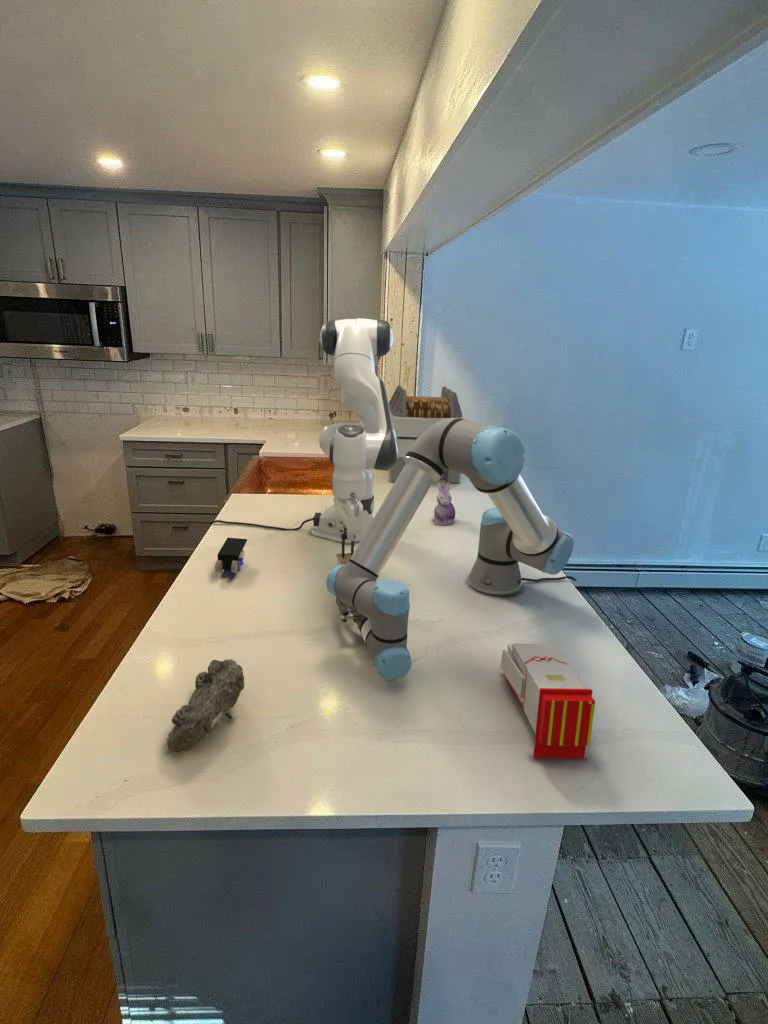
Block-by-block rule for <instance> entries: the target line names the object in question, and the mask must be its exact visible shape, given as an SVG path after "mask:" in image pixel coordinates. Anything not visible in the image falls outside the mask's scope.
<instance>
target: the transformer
mask: <svg viewBox="0 0 768 1024" xmlns="http://www.w3.org/2000/svg"><path fill="white" fill-rule="evenodd" d="M440 393H441V394H440V396H415V395H414V396H413V395H412V396H411V395H407V394H408V393H407V390H406V389H404V388H403V387H402V385H399V384H398V385H397V386H396V388H395V390H394V392H393V394H392V395H391V398H390V400H388V403H389V409H390V415H391V421H392V427H393V429H394V431H395V433H396V443H397V447H398V458H397V462H396V464H395V465H393V466H392V467H391V468H390V469H389V475H388V476H389V477H388V478H389V480H390V482H391V483H395V481H396V479H397V478H398V476H399V474H400V473H401V471H402V469H403V467H404V466H405V462H404V457H405V455H406V454H407V452H408V450H409V449H410V447H411V446H412V444H413V443H414V442H415V441H416V439H417V438H418V437H419V436H420V435H421V434H422V433H423V432H424V431H426V430H427V429H428V428H429V427H430V426H432V425H433V424H435V423H437V422H439V421H441V420H444V419H447V418H461V419H463V411H462V408H461V405H460V402H459V398H458V395H457V392H455V391H453V390H452V389H451V388H447V386H442V387H441V392H440ZM461 474H462V473H459V472H456V471H452V470H449V469H448V470H446V471H445V472H444V473H443V475H442V476H443V478H444V479H445V481H446V482H447V483H448V482H449V483H450V484H455V483H456V484H459V483H461Z"/></svg>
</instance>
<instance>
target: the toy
mask: <svg viewBox="0 0 768 1024" xmlns="http://www.w3.org/2000/svg"><path fill="white" fill-rule="evenodd" d="M499 667H500V670H501V671H502V673H503V676H504V677H505V680H506V681H507V683H508V685H509V686H510V689H511V690H512V691H513V694H514V695H515V697H516V698H517V701H518V702H519V704H520V706H521V708H523V711H524V713H525V715H526V719H528V723H530V726H531V728H532V730H533V732H534V734H535V735H534V744H533V759H566V760H567V759H571V760H572V759H574V760H575V759H577V760H578V759H580V760H584V759H585V755H586V748H587V747H590V746H591V739H592V733H593V731H592V730H593V723H594V716H595V706H596V700H595V699H594V697H593V689H592V688H586V686H585V685H584V684H583V682H582V681H581V680H580V678H579V677H578V676H577V674H576V673H575V672H574V670H573V669H572V667H571V666H570V665H569V663H568V662H567V660H566V659H565V658H564V656H563V655H562V654H561V652H560V650H559V649H558V648H556V645H554V643H519V642H518V643H514V642H512V644H507V650H506V649H502V652H501V660H500V666H499Z"/></svg>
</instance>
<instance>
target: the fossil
mask: <svg viewBox="0 0 768 1024" xmlns="http://www.w3.org/2000/svg"><path fill="white" fill-rule="evenodd" d="M243 670H244V669H243V667H242V665H240V664H237V662H236V661H235V660H234V659H232V658H231V659H227V658H226V659H224V660H223V661H222V660H217V659H212V660H211V661H210V663H209V665H208V666H207V671H201V672H199V673H198V674H197V675H196V676H195V680H194V684H195V685H194V687H195V689H194V690H193V693H192V694H191V697H190V698H189V700H188V704H184V705H182V706H181V707H180V709H177V710H176V711H175V713H174V715H173V716H172V718H171V723H172V724H173V727H172V730H171V731H170V732H168V734H167V738H166V741H167V742H166V745H167V749H168V750H169V751H173V752H174V753H176V754H178V753H182V752H188V751H189V752H192V751H193V750H195V748H196V747H197V746H199V744H200V743H201V742H203V741H204V740H205V739H206V738H207V737H208V736H209V735H210V734H211V733H212V732H214V730H215V729H217V727H218V726H219V724H220V722H221V721H222V720H223V719H224V718H225V716H226V717H227V719H229V720H233V717H232V715H230V714H229V710H230V709H231V708H234V706H235V704H236V703H237V702H238V699H239V697H240V695H241V693H242V691H243V690H245V689H244V688H245V675H244V671H243Z"/></svg>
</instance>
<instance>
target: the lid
mask: <svg viewBox="0 0 768 1024" xmlns="http://www.w3.org/2000/svg"><path fill="white" fill-rule="evenodd" d="M341 539H342V542H341V553H336V554H335V558H336V561H337V560H338V562H339V564H340V565H341V564H343V565H346V564H347V563H348V561H349V560H350V558H351V556H352V554H353V553H354V551H355V542H354V540H353V541H351V543H350V552H346V553H345V551H346V549H345V548H346V543H345V540H347V538H346V533H341ZM354 539H355V534H354Z"/></svg>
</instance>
